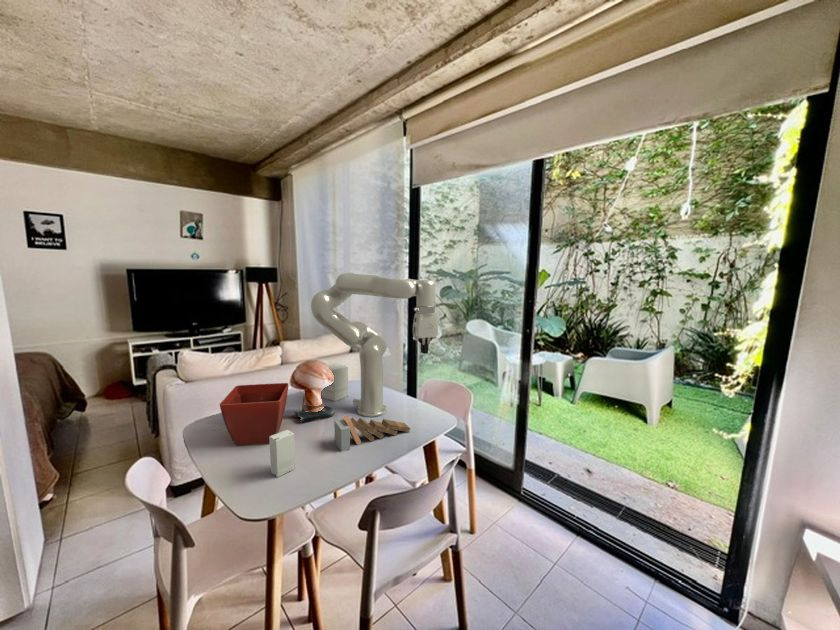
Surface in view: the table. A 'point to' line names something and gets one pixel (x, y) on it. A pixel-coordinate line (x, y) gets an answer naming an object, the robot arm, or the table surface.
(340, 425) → the block
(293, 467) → the skincare box
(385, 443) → the table surface
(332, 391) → the supplement box
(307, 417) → the electronic device
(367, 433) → the domino
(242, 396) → the plant pot
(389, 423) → the domino
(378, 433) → the domino
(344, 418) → the domino end
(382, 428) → the domino
